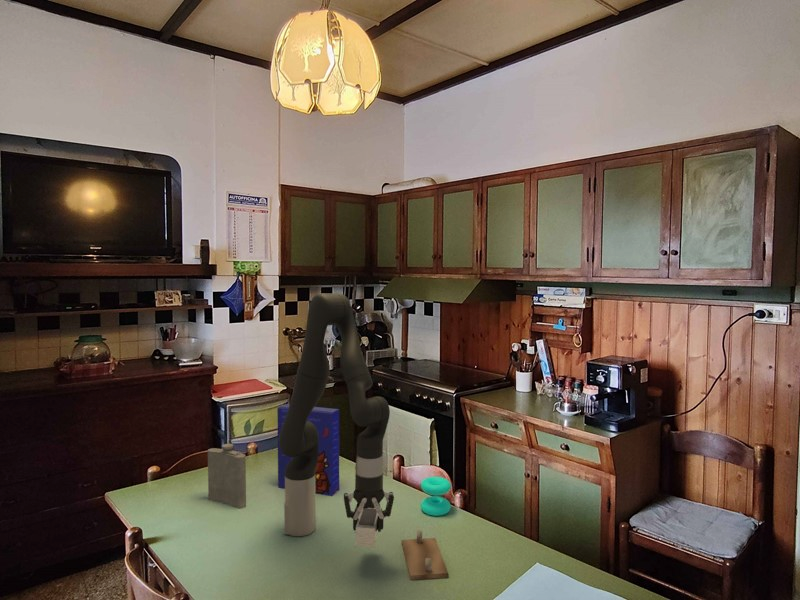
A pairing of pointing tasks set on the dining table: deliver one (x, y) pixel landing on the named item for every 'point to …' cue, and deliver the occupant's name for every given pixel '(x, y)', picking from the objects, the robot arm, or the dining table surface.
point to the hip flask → (227, 476)
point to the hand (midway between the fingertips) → (368, 530)
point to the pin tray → (424, 558)
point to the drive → (367, 528)
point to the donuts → (435, 503)
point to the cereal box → (328, 449)
